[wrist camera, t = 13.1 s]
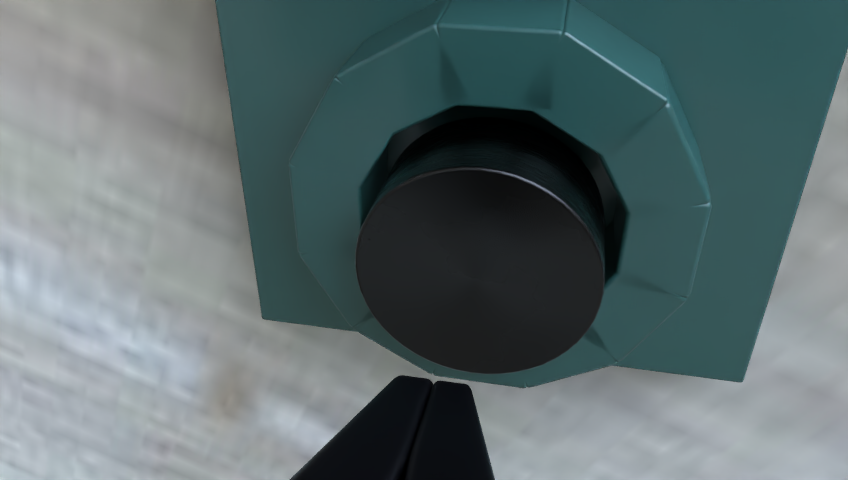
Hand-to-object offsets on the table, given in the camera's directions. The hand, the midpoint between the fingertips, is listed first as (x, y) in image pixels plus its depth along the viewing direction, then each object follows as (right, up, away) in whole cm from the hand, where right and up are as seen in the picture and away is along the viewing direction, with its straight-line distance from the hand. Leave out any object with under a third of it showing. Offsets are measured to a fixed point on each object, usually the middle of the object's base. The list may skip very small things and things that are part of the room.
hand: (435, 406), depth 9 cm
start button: (+1, +2, +4) cm, 4 cm away
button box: (+2, +4, +6) cm, 7 cm away
